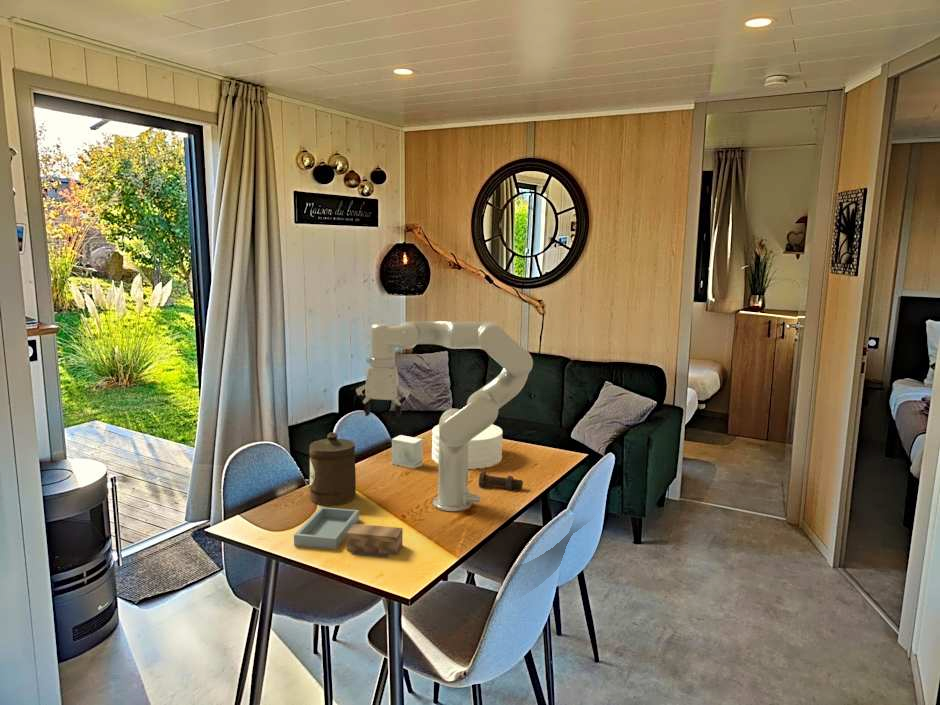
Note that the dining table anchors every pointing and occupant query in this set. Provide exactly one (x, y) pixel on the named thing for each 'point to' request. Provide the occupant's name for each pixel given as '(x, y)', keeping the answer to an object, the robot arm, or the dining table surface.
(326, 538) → the tray
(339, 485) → the wooden container
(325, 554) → the dining table surface
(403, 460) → the skincare box
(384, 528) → the brown rectangular block
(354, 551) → the stud base
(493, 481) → the bolt
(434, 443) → the plate stack
